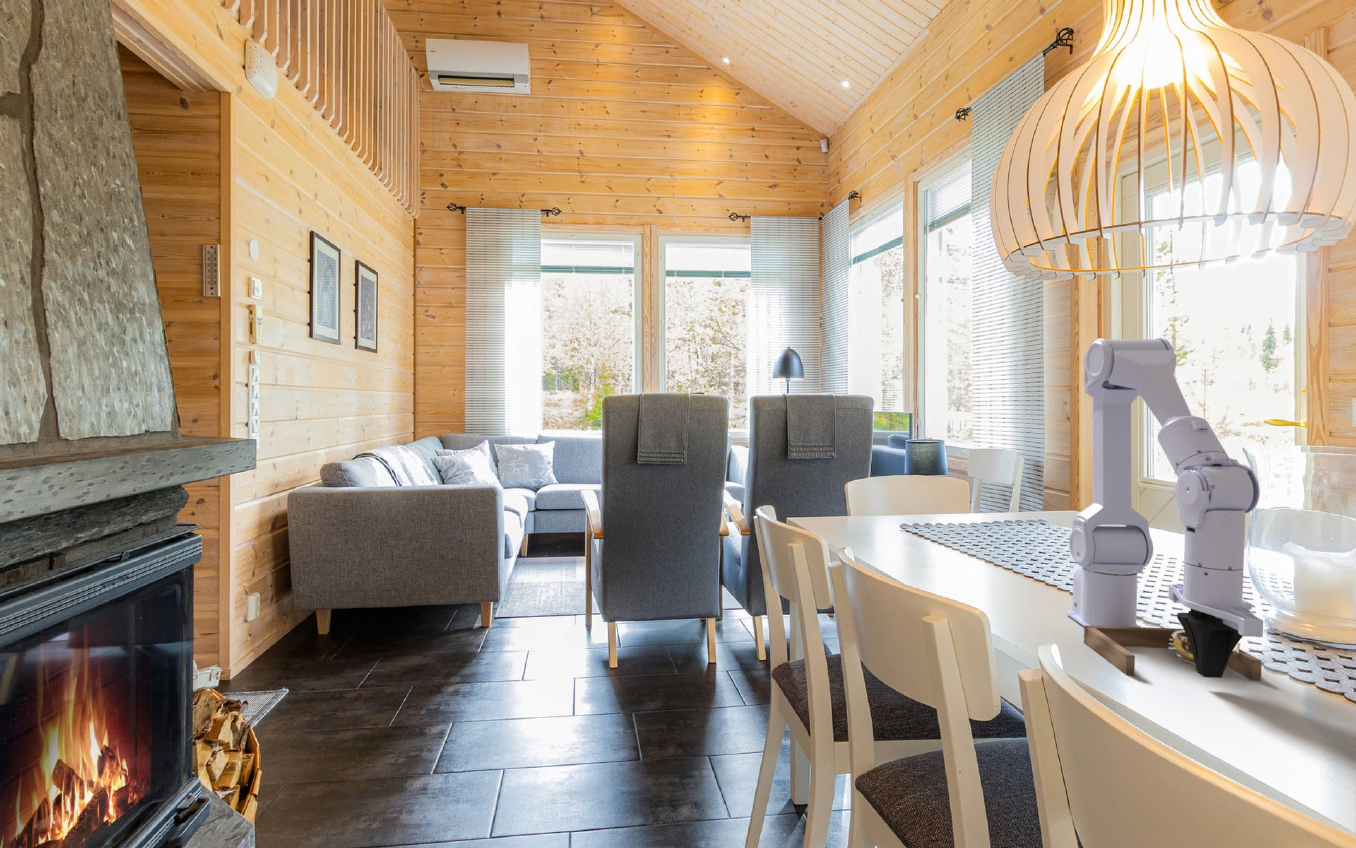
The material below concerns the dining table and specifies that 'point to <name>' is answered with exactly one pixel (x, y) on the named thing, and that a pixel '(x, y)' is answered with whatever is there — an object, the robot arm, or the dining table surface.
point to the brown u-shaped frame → (1113, 638)
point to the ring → (1183, 646)
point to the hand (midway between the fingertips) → (1209, 675)
